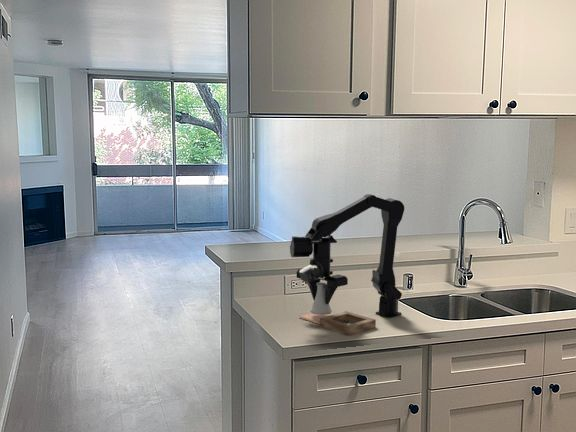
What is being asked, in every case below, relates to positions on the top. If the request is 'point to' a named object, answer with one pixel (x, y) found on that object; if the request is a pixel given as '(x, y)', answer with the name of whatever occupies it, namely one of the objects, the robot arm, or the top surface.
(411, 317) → the top surface
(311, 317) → the terracotta coaster
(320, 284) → the flask
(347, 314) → the walnut holder
